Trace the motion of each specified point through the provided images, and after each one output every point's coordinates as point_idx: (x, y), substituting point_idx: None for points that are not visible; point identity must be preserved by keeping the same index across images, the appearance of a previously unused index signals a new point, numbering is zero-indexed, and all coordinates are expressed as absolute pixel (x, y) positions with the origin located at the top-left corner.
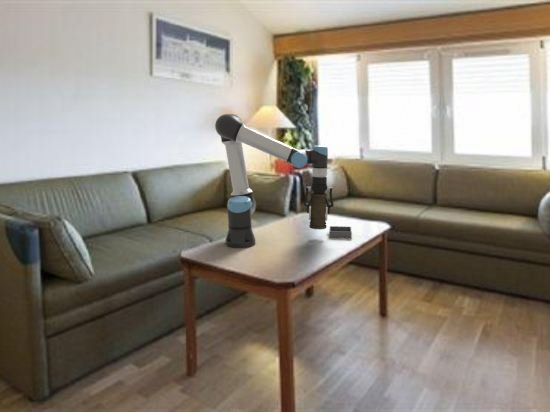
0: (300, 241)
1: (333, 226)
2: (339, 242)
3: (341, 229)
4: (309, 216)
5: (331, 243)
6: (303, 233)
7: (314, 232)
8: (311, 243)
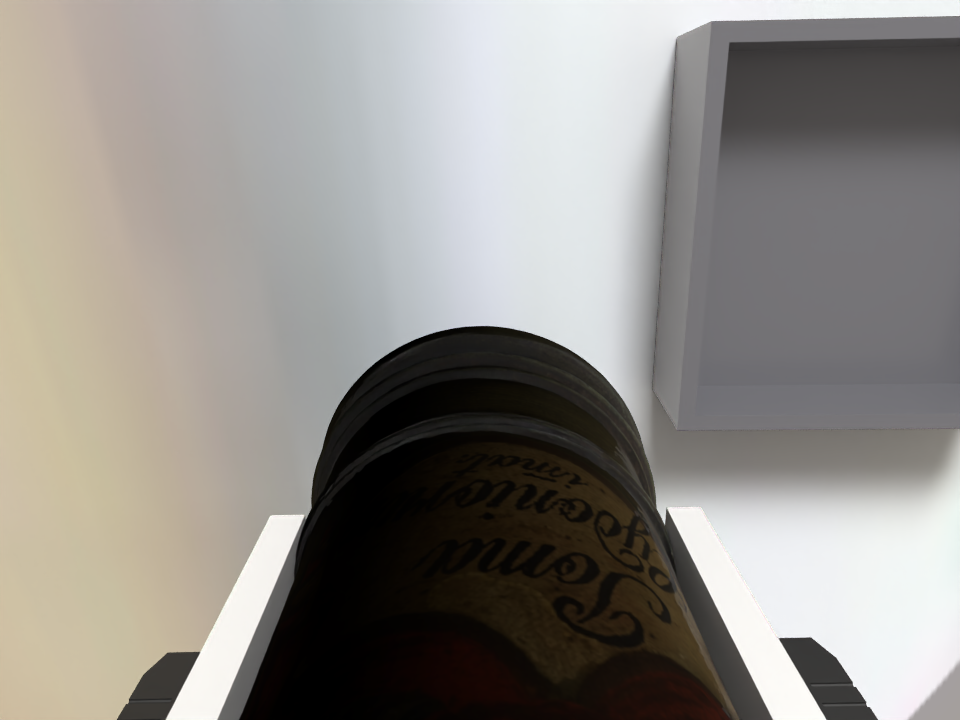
0: None
1: (790, 36)
2: (773, 579)
3: (924, 44)
4: None
5: None
6: (231, 157)
7: (406, 64)
8: None
